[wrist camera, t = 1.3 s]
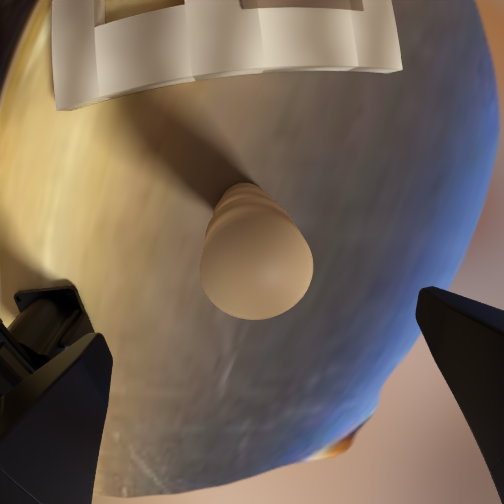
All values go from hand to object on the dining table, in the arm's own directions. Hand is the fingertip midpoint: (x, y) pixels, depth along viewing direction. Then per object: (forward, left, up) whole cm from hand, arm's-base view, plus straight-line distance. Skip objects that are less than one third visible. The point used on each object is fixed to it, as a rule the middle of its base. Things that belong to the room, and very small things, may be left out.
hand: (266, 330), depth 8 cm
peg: (0, 0, -12) cm, 12 cm away
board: (0, +15, -12) cm, 19 cm away
